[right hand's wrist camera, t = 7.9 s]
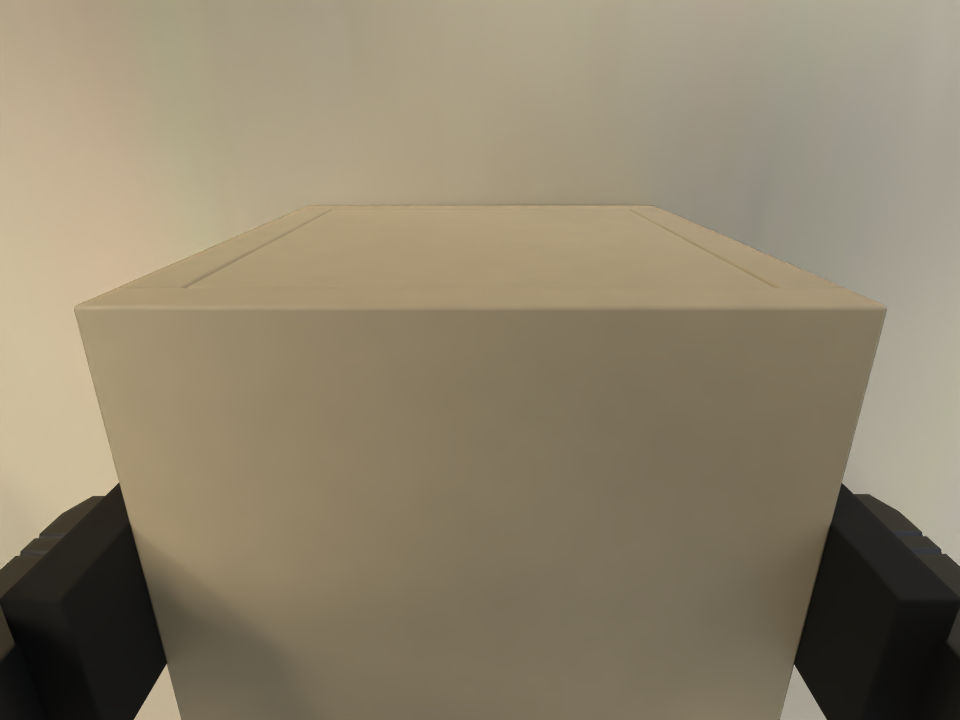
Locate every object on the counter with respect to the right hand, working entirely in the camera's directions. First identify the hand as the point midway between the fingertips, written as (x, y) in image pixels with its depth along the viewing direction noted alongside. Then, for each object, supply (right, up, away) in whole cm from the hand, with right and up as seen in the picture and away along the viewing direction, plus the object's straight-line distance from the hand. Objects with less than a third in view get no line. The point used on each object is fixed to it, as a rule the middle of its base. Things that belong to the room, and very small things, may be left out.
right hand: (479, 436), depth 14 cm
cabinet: (0, -1, +6) cm, 6 cm away
